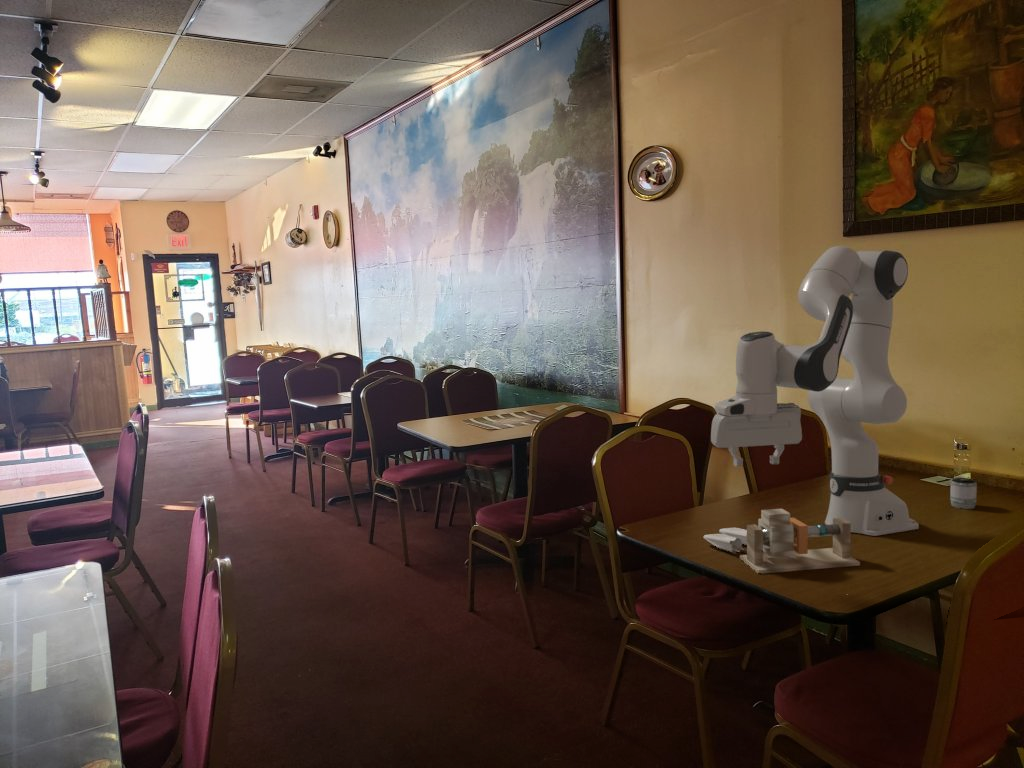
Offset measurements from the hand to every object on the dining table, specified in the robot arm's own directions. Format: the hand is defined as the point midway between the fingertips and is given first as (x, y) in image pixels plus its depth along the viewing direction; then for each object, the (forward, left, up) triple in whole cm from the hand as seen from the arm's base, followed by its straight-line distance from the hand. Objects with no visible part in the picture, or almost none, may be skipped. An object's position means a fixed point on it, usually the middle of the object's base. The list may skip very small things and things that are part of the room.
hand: (756, 464), depth 164 cm
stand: (-10, 0, -24) cm, 25 cm away
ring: (-9, 0, -20) cm, 22 cm away
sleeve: (-4, 0, -21) cm, 21 cm away
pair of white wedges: (0, -14, -24) cm, 28 cm away
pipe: (-10, 0, -18) cm, 20 cm away
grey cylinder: (-75, -31, -24) cm, 84 cm away
